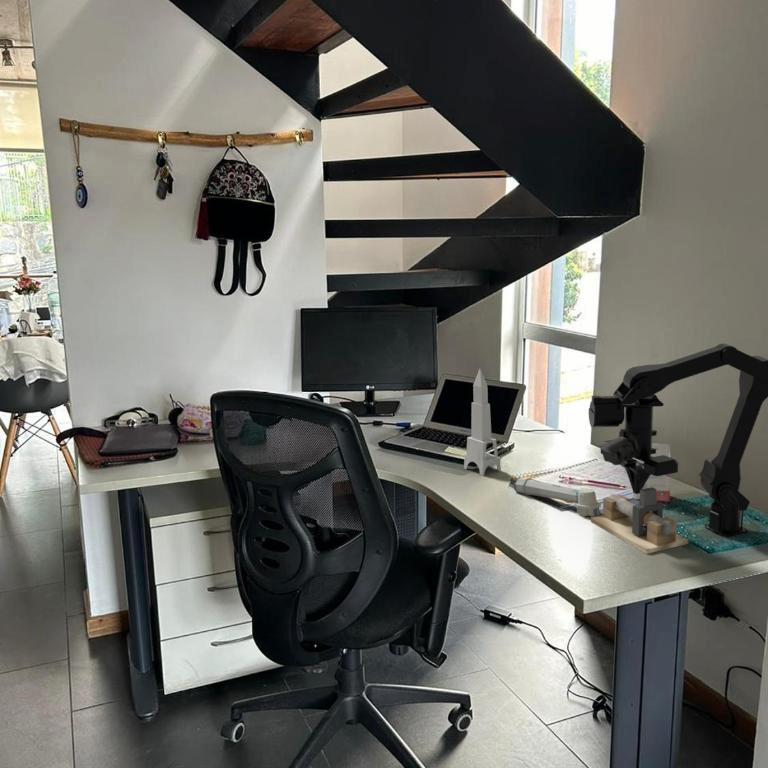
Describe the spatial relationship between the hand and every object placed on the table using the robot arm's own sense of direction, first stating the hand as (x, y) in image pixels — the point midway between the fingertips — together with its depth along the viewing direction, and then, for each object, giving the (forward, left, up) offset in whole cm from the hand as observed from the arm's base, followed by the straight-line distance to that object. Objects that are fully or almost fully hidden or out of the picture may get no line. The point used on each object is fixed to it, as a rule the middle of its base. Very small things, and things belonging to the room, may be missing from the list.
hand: (636, 493), depth 160 cm
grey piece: (+6, -22, -10) cm, 25 cm away
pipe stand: (0, +1, -9) cm, 9 cm away
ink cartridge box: (-17, -15, -9) cm, 25 cm away
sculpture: (+10, -54, -9) cm, 56 cm away
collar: (0, +4, -8) cm, 9 cm away
